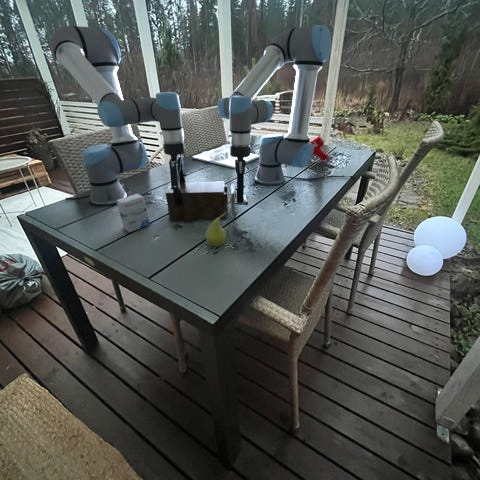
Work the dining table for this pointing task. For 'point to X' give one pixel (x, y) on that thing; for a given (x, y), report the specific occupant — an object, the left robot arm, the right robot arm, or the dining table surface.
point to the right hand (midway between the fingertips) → (240, 203)
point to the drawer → (232, 200)
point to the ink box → (133, 212)
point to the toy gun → (318, 148)
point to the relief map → (222, 156)
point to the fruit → (216, 233)
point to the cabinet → (197, 201)
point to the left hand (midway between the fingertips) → (181, 198)
